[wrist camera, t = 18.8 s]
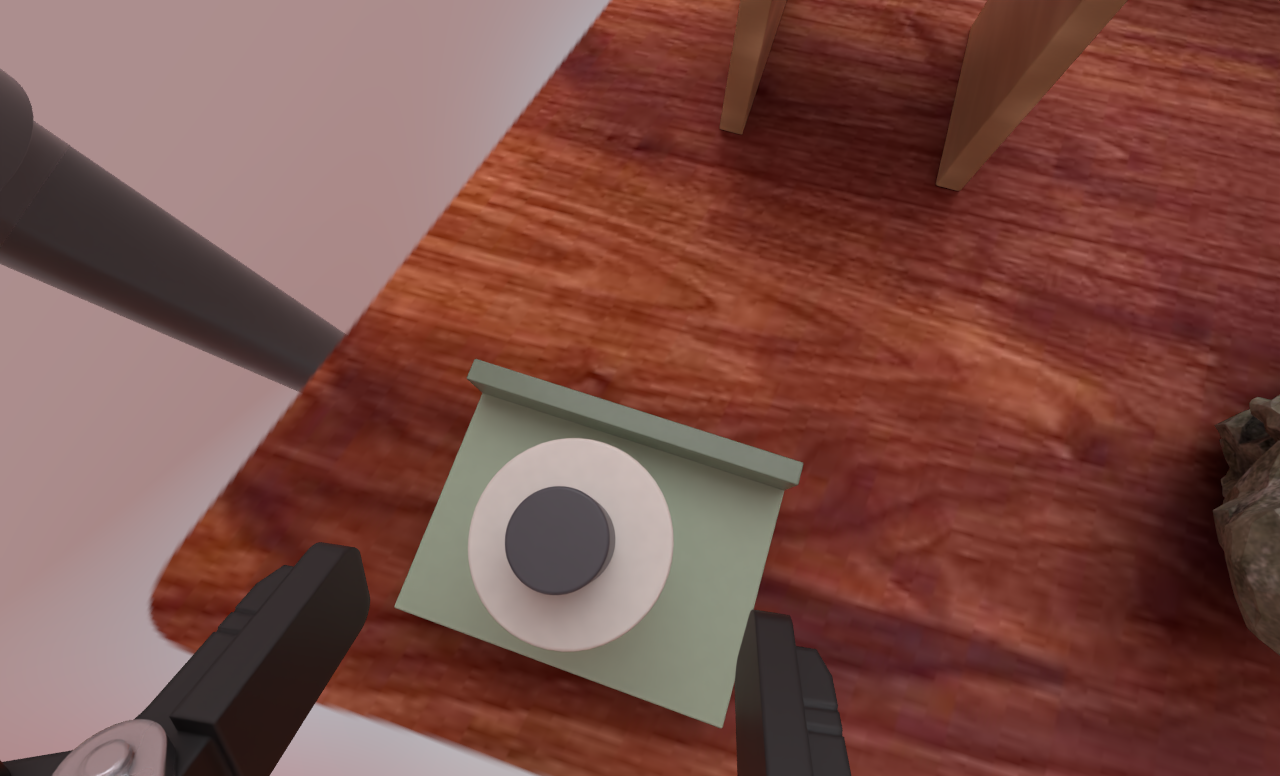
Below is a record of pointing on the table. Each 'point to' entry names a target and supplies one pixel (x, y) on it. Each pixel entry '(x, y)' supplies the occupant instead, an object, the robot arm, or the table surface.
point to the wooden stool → (990, 76)
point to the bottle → (570, 544)
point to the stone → (1253, 515)
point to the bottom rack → (702, 531)
